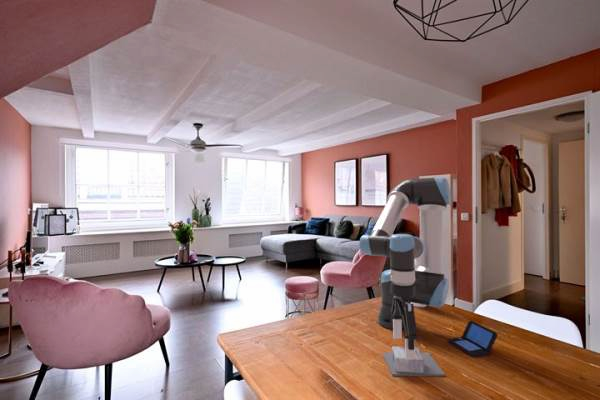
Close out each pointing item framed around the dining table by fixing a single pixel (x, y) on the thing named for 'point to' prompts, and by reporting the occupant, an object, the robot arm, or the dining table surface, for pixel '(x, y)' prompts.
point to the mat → (429, 370)
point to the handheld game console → (475, 340)
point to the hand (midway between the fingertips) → (403, 347)
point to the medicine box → (407, 361)
